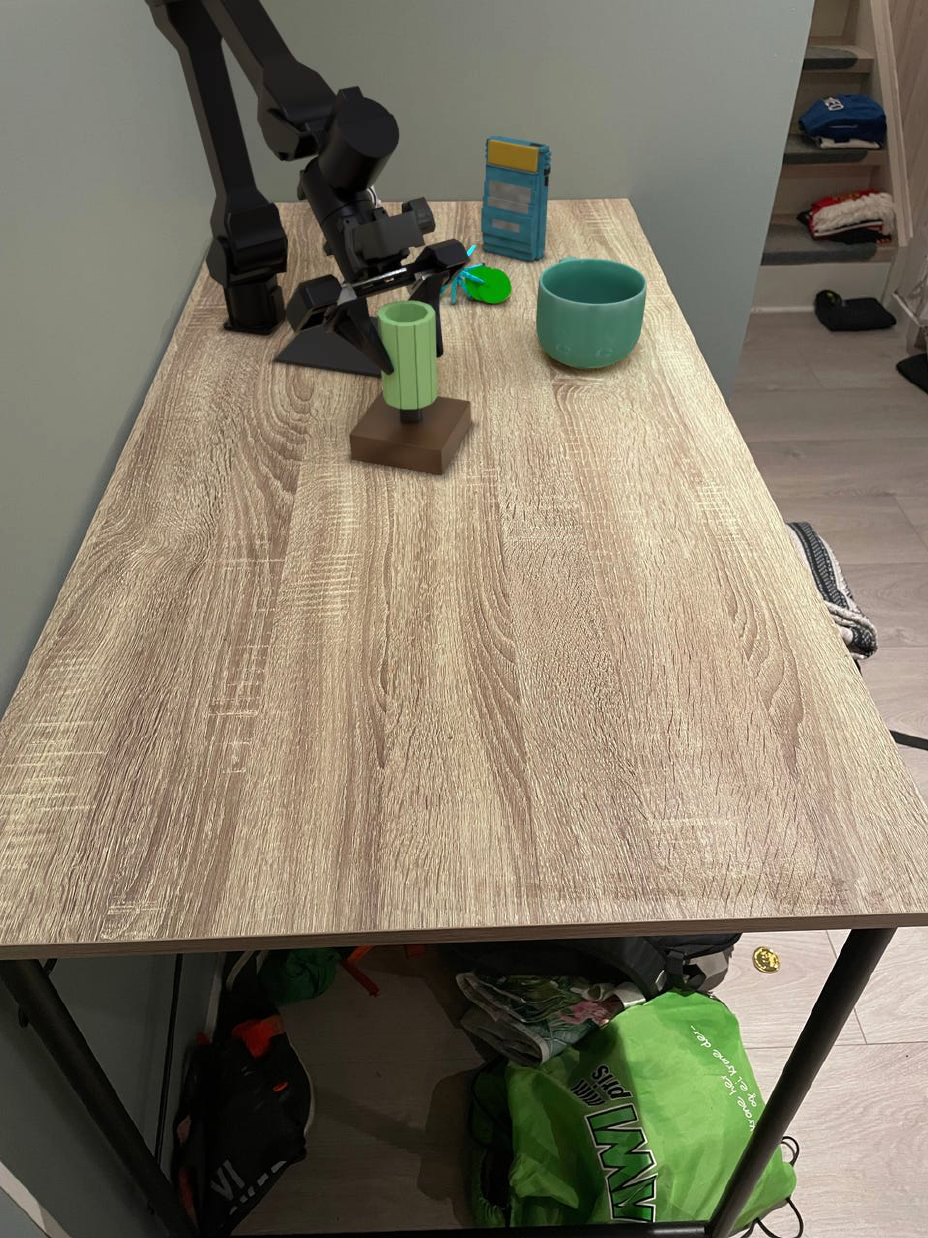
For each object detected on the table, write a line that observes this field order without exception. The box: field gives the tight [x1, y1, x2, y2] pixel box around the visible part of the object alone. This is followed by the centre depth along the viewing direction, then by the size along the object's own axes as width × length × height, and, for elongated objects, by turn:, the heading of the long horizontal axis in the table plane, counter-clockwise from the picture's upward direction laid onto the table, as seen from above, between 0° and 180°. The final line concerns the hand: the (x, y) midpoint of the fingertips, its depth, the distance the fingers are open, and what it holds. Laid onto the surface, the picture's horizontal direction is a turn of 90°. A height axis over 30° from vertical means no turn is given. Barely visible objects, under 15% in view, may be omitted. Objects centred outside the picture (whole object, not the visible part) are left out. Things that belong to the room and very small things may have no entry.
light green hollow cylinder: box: [376, 300, 438, 410], centre depth 91 cm, size 5×6×9 cm
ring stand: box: [348, 389, 472, 476], centre depth 95 cm, size 10×10×7 cm
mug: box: [535, 256, 648, 370], centre depth 110 cm, size 17×13×10 cm
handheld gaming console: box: [480, 135, 552, 263], centre depth 129 cm, size 10×4×15 cm, turn 58°
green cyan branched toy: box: [440, 244, 513, 305], centre depth 123 cm, size 12×7×8 cm
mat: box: [274, 316, 382, 379], centre depth 114 cm, size 14×14×1 cm
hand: (416, 364), depth 90 cm, fingers closed on light green hollow cylinder, 5 cm apart
